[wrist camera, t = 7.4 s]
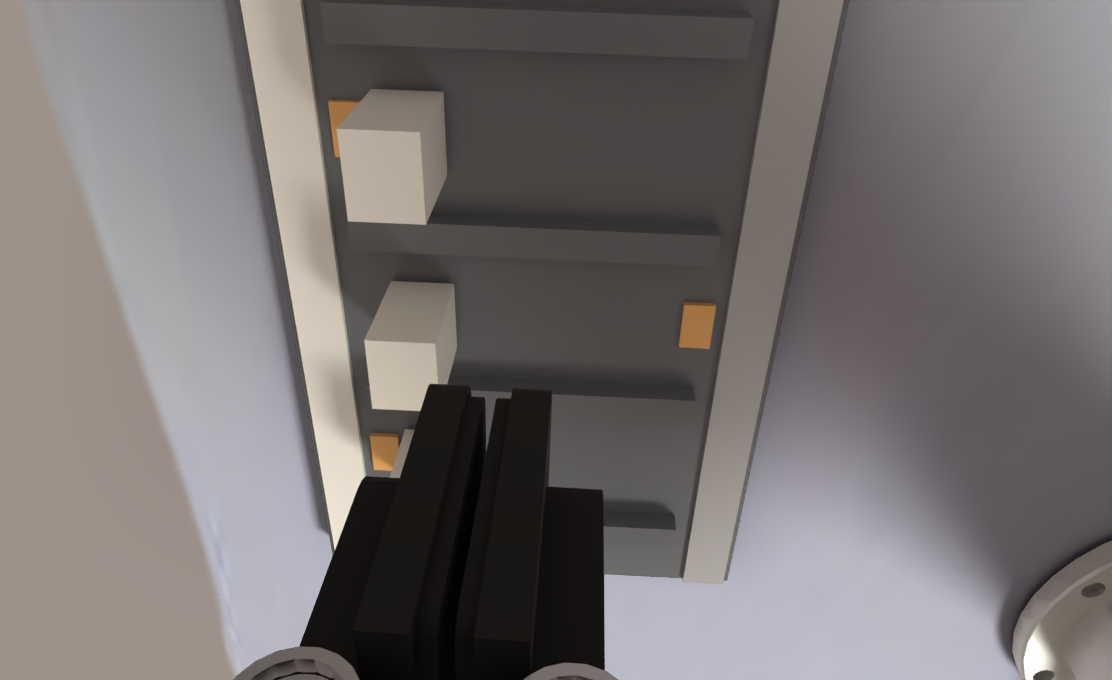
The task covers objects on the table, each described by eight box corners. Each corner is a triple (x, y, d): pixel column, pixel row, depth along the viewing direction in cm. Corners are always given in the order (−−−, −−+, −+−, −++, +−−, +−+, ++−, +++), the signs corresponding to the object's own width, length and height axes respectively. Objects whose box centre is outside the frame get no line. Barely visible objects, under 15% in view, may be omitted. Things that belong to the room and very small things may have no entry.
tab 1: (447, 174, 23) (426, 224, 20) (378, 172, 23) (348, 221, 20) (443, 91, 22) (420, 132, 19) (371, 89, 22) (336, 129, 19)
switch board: (723, 561, 33) (729, 596, 32) (340, 541, 33) (328, 575, 32) (857, -97, 20) (878, -91, 19) (230, -118, 21) (202, -115, 19)
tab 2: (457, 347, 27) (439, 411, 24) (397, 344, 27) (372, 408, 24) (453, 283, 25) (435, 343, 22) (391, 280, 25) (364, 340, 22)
